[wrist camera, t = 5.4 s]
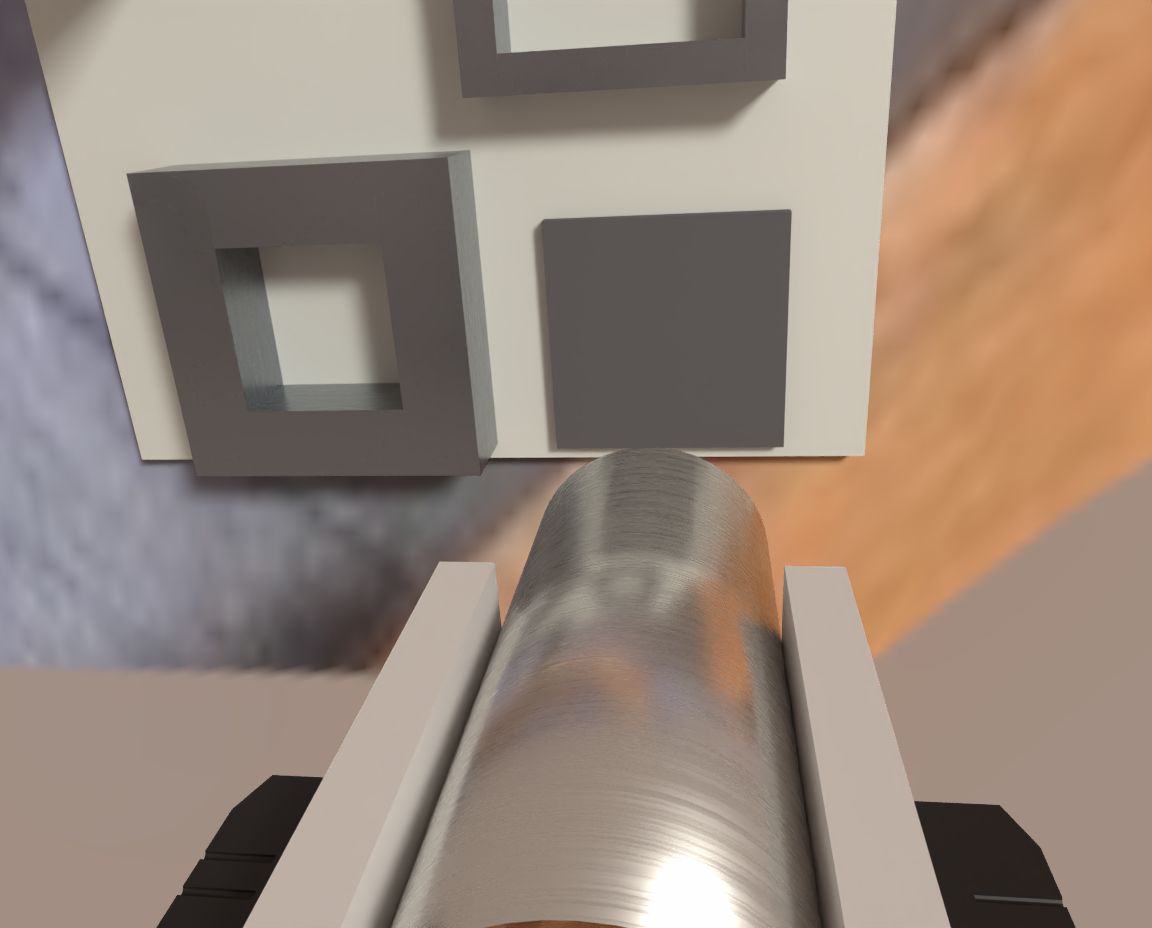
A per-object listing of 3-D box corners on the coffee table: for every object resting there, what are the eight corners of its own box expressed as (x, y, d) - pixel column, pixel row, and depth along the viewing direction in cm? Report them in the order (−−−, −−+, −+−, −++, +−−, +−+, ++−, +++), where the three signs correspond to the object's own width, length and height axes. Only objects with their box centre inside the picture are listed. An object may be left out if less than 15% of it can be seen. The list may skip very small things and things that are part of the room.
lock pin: (530, 447, 15) (161, 1222, 5) (771, 446, 14) (937, 1316, 4) (545, 648, 16) (287, 1576, 6) (765, 654, 16) (880, 1678, 6)
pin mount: (235, 445, 31) (197, 476, 28) (175, 164, 27) (126, 173, 25) (497, 443, 30) (480, 475, 27) (469, 150, 26) (447, 157, 24)
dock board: (154, 450, 32) (141, 459, 32) (-42, -337, 24) (-65, -350, 23) (859, 446, 29) (864, 455, 28) (922, -464, 21) (930, -484, 20)
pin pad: (559, 443, 29) (556, 448, 29) (544, 219, 27) (541, 221, 26) (782, 441, 28) (783, 447, 28) (789, 209, 26) (791, 211, 25)
